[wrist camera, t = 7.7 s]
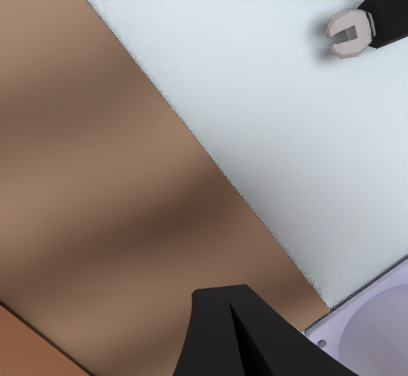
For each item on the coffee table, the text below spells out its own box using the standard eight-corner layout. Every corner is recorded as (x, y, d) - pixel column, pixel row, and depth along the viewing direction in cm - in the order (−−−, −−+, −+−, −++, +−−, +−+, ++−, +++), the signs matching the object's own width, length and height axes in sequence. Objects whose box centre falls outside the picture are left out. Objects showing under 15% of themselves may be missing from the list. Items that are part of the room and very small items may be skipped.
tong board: (321, 297, 21) (373, 368, 16) (67, 479, 22) (43, 596, 17) (51, -45, 15) (-1, -103, 10) (-272, 238, 16) (-458, 313, 11)
